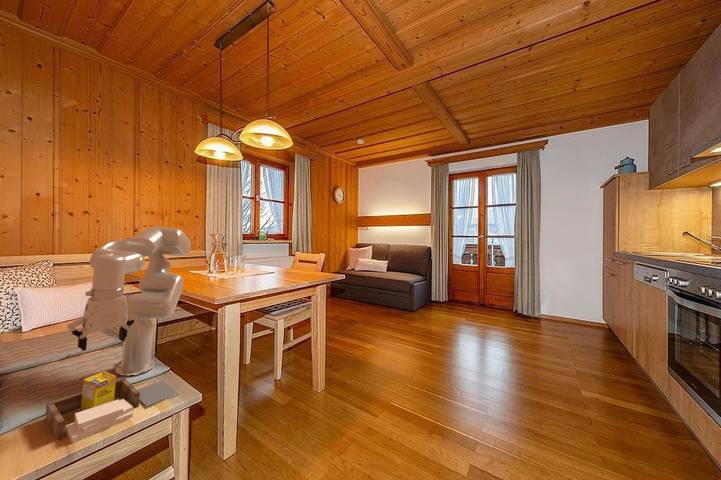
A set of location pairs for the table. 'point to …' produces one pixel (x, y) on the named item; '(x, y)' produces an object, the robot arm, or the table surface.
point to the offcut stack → (98, 419)
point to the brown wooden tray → (74, 403)
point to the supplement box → (98, 390)
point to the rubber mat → (155, 393)
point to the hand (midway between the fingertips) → (103, 344)
